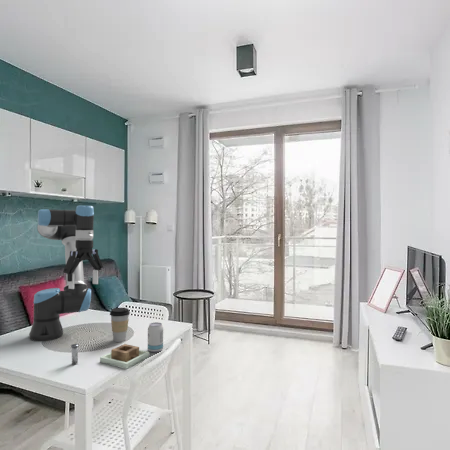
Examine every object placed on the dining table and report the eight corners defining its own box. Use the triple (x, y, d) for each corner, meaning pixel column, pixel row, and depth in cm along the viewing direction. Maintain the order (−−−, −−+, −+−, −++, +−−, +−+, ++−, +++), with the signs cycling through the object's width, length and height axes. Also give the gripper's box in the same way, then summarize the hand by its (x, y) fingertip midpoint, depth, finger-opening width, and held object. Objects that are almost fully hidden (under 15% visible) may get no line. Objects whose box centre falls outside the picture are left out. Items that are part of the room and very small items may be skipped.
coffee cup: (123, 344, 163) (124, 312, 163) (105, 342, 165) (106, 311, 165) (132, 337, 172) (133, 307, 172) (115, 336, 174) (116, 306, 174)
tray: (100, 362, 142) (100, 357, 142) (124, 350, 154) (124, 346, 154) (126, 368, 135) (126, 363, 135) (149, 356, 148) (149, 352, 148)
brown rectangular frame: (111, 359, 143) (111, 349, 143) (124, 353, 150) (124, 343, 150) (129, 363, 139) (129, 354, 139) (141, 357, 146) (142, 347, 146)
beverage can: (148, 347, 158) (148, 322, 158) (163, 347, 159) (164, 321, 159) (146, 353, 152) (146, 326, 152) (162, 353, 152) (162, 326, 152)
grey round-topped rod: (69, 364, 139) (69, 345, 139) (75, 361, 142) (75, 343, 142) (74, 365, 138) (74, 346, 138) (79, 363, 140) (80, 344, 140)
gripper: (67, 241, 143) (66, 291, 143) (110, 238, 165) (110, 282, 165) (54, 240, 146) (54, 290, 146) (99, 238, 168) (98, 281, 169)
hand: (83, 286), depth 156 cm, fingers open, 13 cm apart
